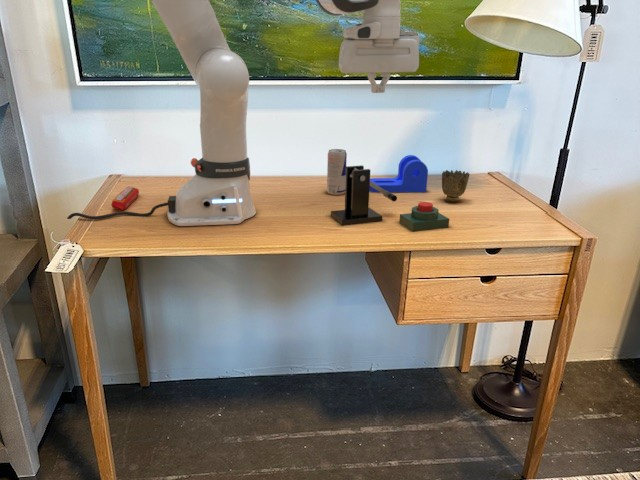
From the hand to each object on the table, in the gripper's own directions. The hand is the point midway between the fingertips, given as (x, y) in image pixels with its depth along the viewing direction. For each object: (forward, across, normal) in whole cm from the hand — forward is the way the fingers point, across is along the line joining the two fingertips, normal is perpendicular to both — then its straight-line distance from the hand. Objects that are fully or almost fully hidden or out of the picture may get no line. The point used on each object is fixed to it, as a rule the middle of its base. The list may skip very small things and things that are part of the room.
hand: (377, 92), depth 145 cm
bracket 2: (+29, -14, -15) cm, 36 cm away
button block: (+29, -6, +18) cm, 35 cm away
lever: (+22, +4, +8) cm, 24 cm away
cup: (+29, -24, +2) cm, 38 cm away
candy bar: (+29, +62, -24) cm, 73 cm away
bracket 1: (+29, +8, +8) cm, 31 cm away
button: (+26, -6, +18) cm, 32 cm away
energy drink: (+29, +4, -16) cm, 34 cm away
